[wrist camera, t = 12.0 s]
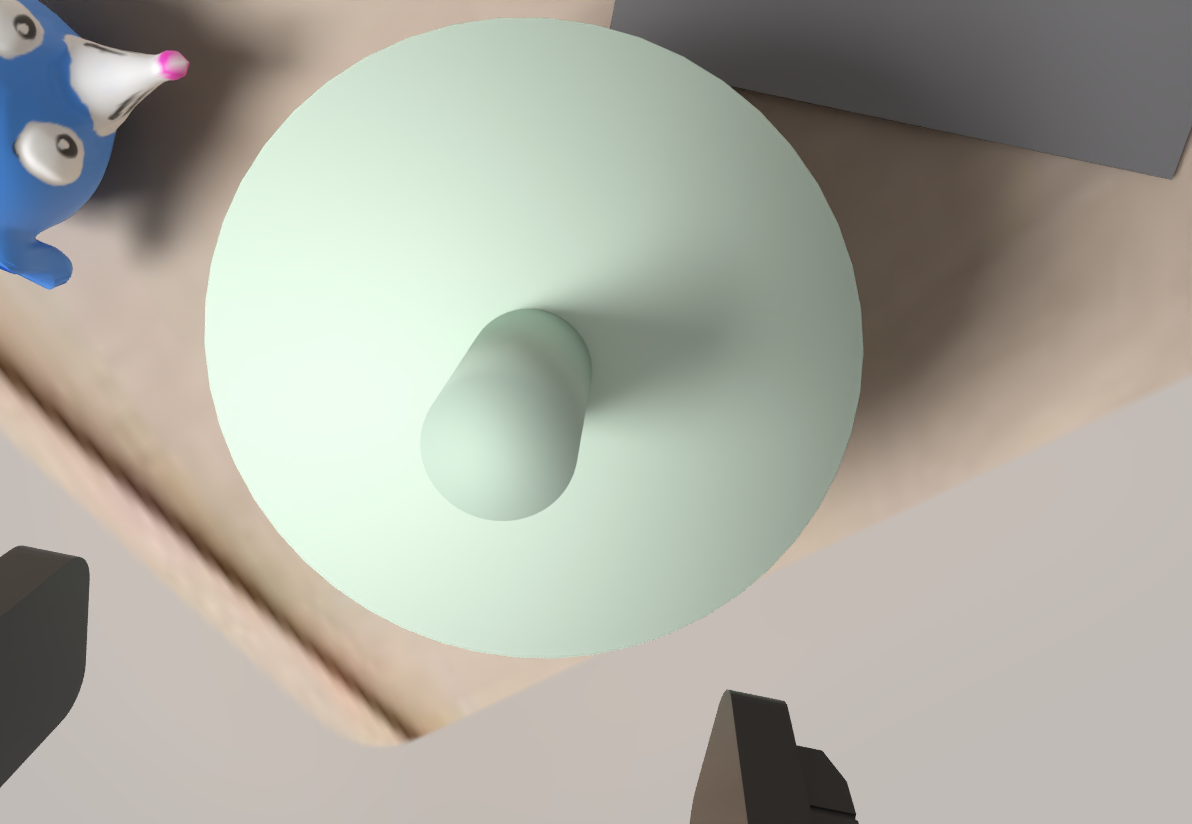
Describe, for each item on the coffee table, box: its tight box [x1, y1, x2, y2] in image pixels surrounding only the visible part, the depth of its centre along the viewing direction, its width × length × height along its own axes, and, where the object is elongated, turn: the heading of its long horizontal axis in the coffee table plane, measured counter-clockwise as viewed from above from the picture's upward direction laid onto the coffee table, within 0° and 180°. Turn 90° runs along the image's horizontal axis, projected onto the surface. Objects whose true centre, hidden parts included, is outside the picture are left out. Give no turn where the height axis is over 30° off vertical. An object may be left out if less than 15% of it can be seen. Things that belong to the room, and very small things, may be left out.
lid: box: [205, 18, 863, 658], centre depth 24 cm, size 17×17×7 cm
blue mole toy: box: [0, 0, 190, 289], centre depth 32 cm, size 12×12×8 cm
